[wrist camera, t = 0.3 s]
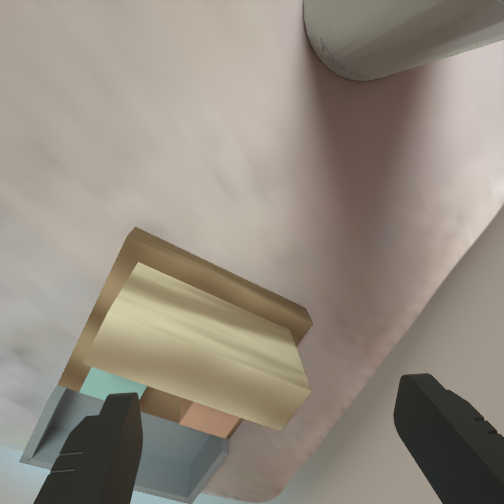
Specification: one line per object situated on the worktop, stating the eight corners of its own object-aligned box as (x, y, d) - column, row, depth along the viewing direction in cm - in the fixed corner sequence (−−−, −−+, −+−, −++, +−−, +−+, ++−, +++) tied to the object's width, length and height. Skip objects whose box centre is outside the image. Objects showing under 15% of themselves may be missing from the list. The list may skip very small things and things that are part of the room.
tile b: (204, 366, 28) (203, 387, 26) (247, 382, 29) (249, 404, 27) (182, 400, 29) (179, 424, 27) (224, 415, 30) (225, 438, 28)
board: (135, 226, 25) (126, 236, 23) (305, 308, 30) (313, 323, 28) (69, 365, 30) (57, 385, 27) (227, 418, 34) (228, 439, 32)
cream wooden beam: (138, 261, 24) (107, 311, 17) (289, 329, 28) (311, 391, 21) (118, 302, 25) (82, 363, 18) (266, 362, 29) (280, 431, 22)
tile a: (110, 330, 26) (99, 350, 24) (161, 350, 27) (156, 370, 25) (90, 369, 27) (78, 392, 25) (140, 386, 28) (133, 409, 26)
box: (69, 365, 30) (48, 398, 26) (227, 418, 34) (229, 453, 30) (42, 423, 32) (19, 461, 28) (194, 466, 36) (191, 504, 33)
